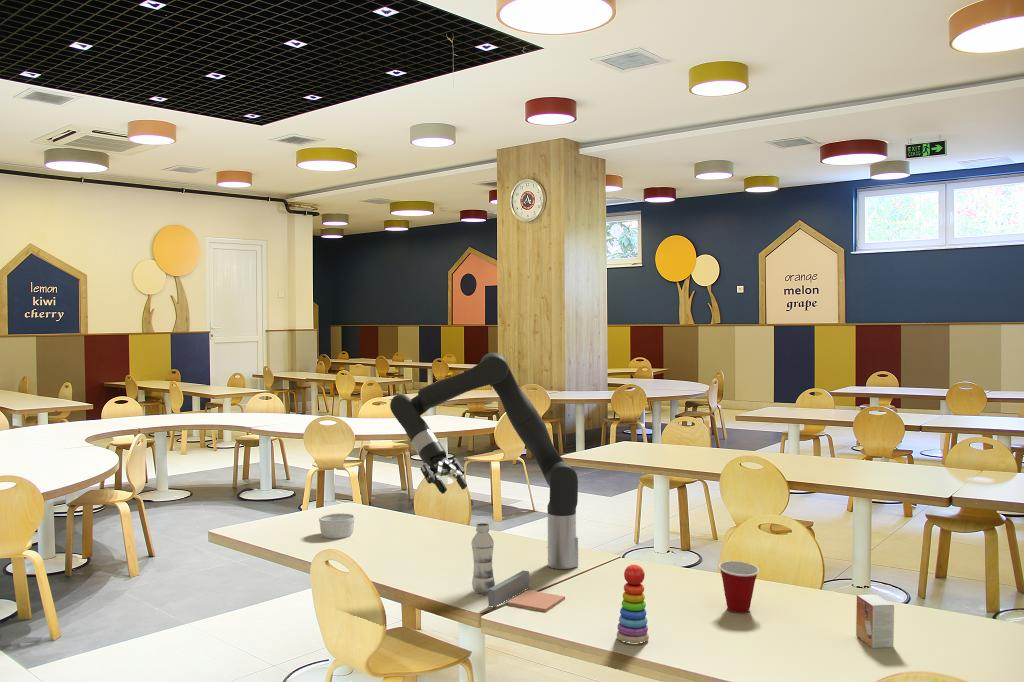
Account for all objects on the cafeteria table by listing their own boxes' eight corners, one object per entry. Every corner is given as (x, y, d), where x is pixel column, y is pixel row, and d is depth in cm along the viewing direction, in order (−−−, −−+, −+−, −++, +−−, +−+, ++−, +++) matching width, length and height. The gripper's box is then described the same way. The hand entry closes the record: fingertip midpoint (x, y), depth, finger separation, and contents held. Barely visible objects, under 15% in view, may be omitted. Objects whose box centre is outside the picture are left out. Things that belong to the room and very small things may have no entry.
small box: (855, 636, 211) (855, 594, 210) (877, 635, 211) (877, 593, 211) (872, 648, 203) (872, 605, 202) (894, 647, 203) (894, 604, 203)
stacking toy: (627, 647, 204) (627, 571, 204) (610, 636, 212) (610, 562, 211) (655, 642, 207) (654, 567, 207) (637, 631, 215) (637, 558, 214)
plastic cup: (737, 619, 223) (737, 574, 223) (710, 607, 233) (710, 564, 232) (768, 612, 228) (768, 568, 228) (740, 600, 238) (740, 558, 237)
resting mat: (528, 592, 246) (528, 589, 246) (565, 599, 240) (565, 596, 240) (507, 604, 236) (507, 602, 236) (545, 611, 230) (545, 609, 230)
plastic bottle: (492, 596, 243) (491, 527, 242) (469, 595, 244) (468, 526, 244) (497, 589, 249) (496, 522, 249) (474, 588, 251) (474, 521, 250)
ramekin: (326, 530, 322) (326, 512, 322) (359, 531, 320) (359, 513, 320) (313, 539, 309) (313, 520, 309) (348, 540, 307) (348, 521, 307)
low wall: (523, 586, 252) (523, 570, 251) (529, 587, 251) (529, 571, 250) (488, 606, 234) (488, 589, 234) (494, 608, 233) (494, 590, 233)
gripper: (417, 443, 253) (444, 485, 246) (451, 437, 264) (477, 478, 257) (405, 458, 257) (431, 501, 250) (439, 453, 268) (465, 493, 261)
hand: (455, 489), depth 253 cm, fingers open, 8 cm apart
